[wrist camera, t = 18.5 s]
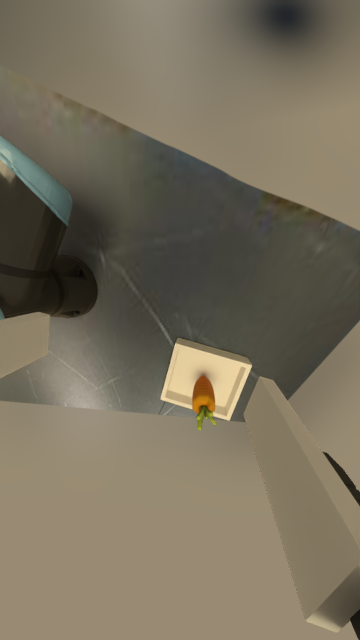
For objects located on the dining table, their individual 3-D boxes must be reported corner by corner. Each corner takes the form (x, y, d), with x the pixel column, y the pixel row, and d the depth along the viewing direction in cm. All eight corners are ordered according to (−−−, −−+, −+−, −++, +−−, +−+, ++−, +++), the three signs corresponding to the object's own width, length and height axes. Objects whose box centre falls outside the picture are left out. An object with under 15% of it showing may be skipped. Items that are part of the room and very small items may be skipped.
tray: (163, 389, 48) (160, 399, 44) (177, 337, 44) (175, 343, 40) (227, 408, 47) (229, 420, 43) (247, 357, 43) (252, 365, 39)
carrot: (208, 364, 43) (211, 409, 29) (216, 381, 44) (222, 432, 30) (190, 371, 44) (185, 416, 30) (198, 387, 45) (196, 439, 31)
